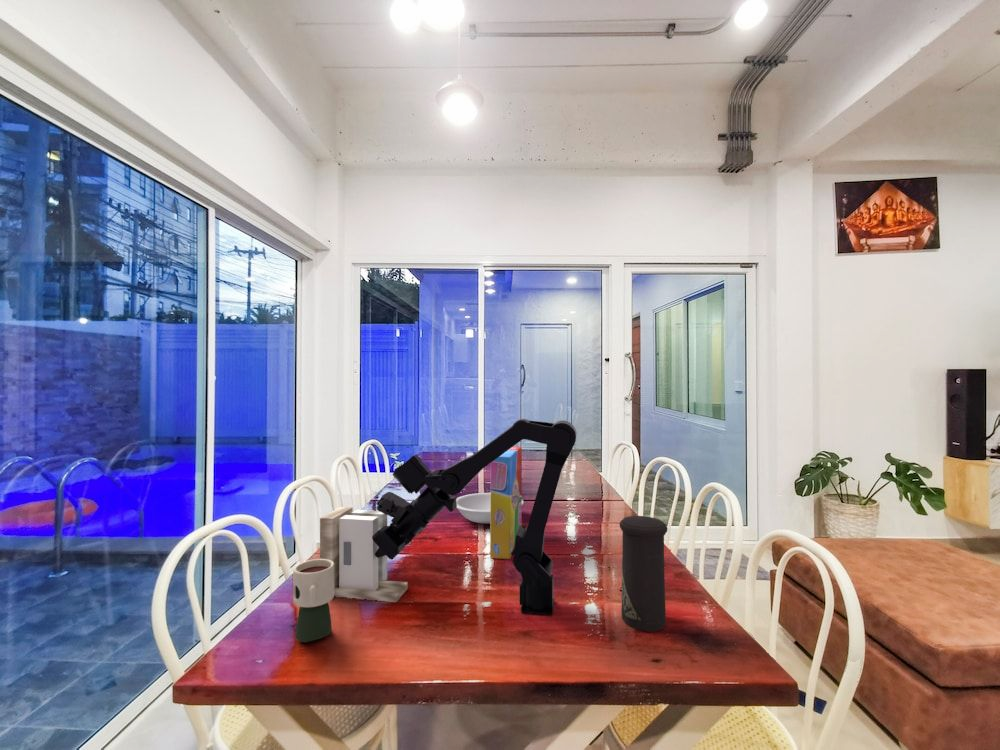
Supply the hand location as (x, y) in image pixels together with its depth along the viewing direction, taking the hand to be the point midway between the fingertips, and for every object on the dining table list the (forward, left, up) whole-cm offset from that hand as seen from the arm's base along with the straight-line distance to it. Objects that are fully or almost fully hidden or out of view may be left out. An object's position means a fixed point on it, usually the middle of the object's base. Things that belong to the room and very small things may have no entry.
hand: (376, 555), depth 102 cm
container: (-57, +2, -8) cm, 58 cm away
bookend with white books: (+3, -2, -8) cm, 9 cm away
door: (+4, 0, -8) cm, 9 cm away
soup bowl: (-14, -56, -9) cm, 58 cm away
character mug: (+4, +18, -8) cm, 20 cm away
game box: (-24, -34, -9) cm, 42 cm away
